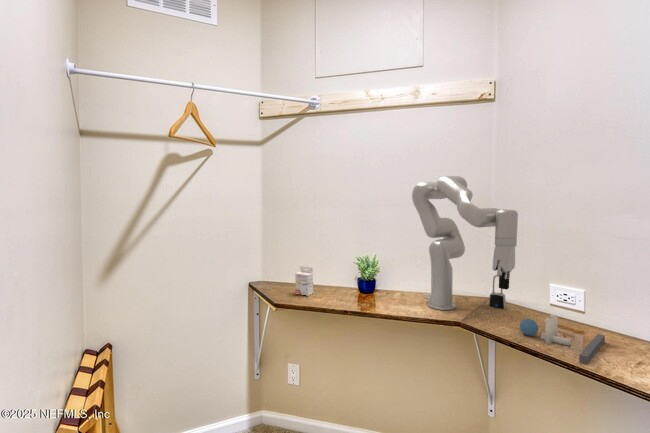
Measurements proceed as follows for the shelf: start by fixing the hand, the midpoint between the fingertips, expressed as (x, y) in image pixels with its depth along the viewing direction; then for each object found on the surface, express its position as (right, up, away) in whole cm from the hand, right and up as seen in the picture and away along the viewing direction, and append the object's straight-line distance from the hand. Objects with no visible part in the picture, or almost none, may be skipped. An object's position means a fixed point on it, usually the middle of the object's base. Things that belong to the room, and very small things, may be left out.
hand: (503, 288), depth 136 cm
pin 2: (+13, -16, -10) cm, 23 cm away
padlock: (+11, -14, +27) cm, 32 cm away
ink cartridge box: (-81, -14, +50) cm, 96 cm away
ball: (+6, -13, -7) cm, 16 cm away
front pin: (+9, -15, -10) cm, 20 cm away
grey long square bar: (+19, -17, -21) cm, 33 cm away
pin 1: (+9, -16, -13) cm, 23 cm away
